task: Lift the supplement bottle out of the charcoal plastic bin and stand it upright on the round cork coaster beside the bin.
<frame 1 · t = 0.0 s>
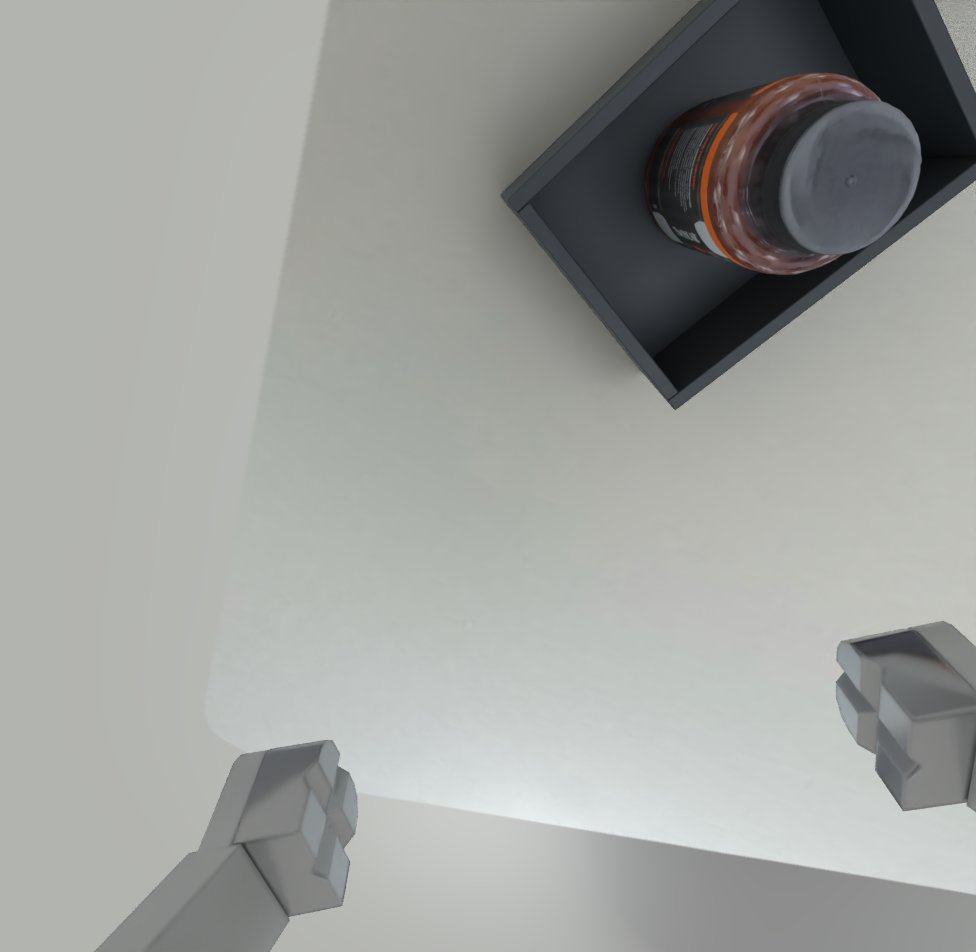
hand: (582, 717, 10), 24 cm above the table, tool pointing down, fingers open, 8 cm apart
supplement bottle: (707, 177, 28), resting on bin
bin: (704, 177, 28), on the table
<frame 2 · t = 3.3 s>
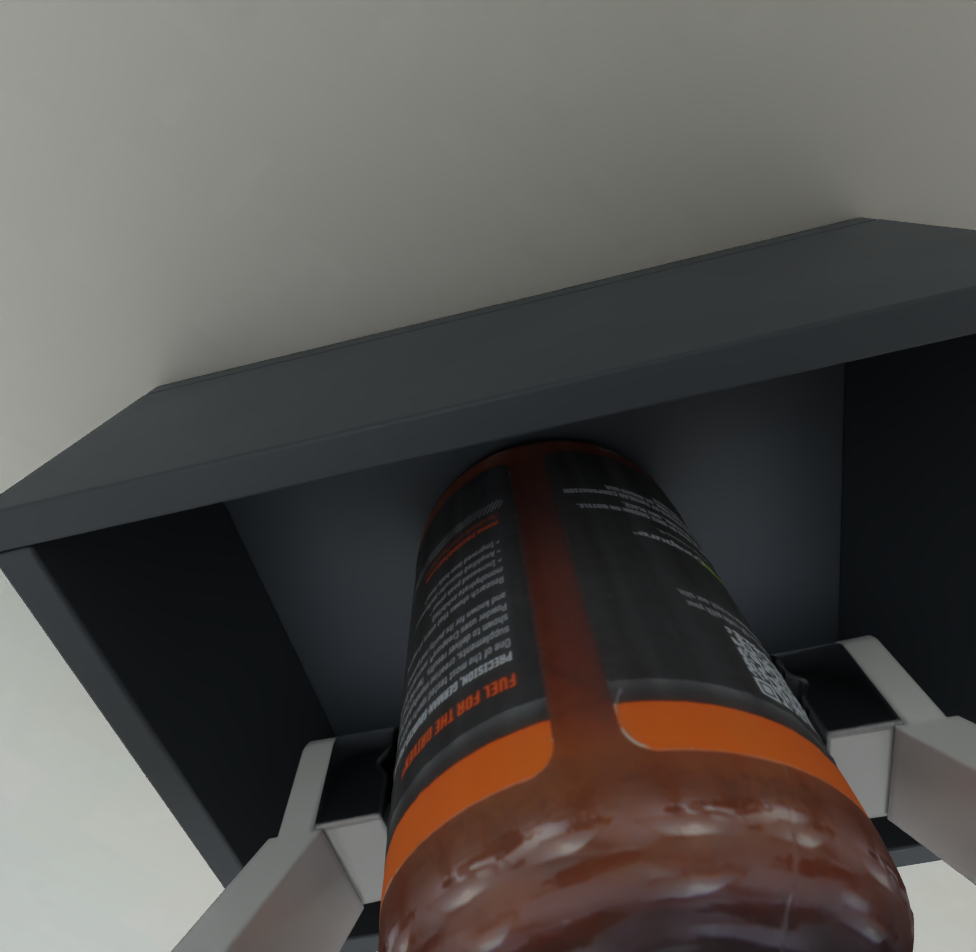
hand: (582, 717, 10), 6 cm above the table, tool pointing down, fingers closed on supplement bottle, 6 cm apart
supplement bottle: (547, 543, 15), resting on bin, touching gripper
bin: (544, 534, 15), on the table
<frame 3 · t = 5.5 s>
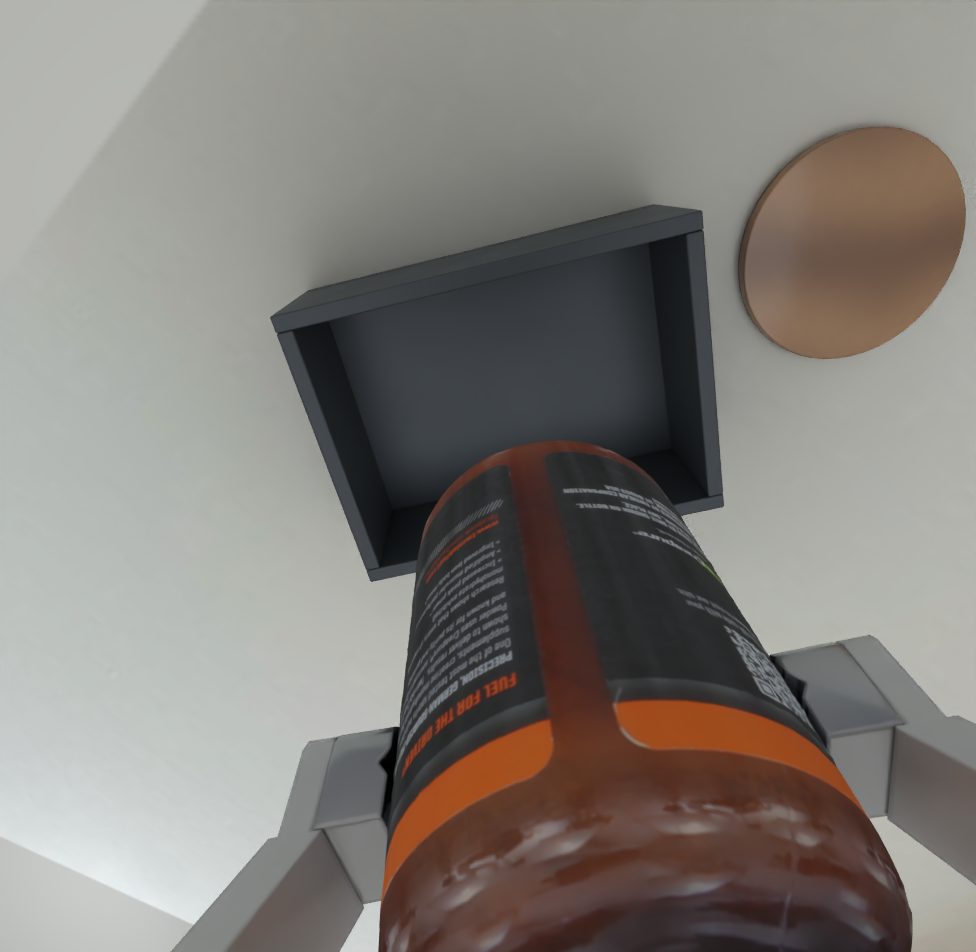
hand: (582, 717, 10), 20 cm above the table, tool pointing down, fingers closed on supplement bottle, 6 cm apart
supplement bottle: (547, 543, 15), point 15 cm above the table, touching gripper
bin: (506, 376, 28), on the table
coaster: (845, 250, 26), on the table
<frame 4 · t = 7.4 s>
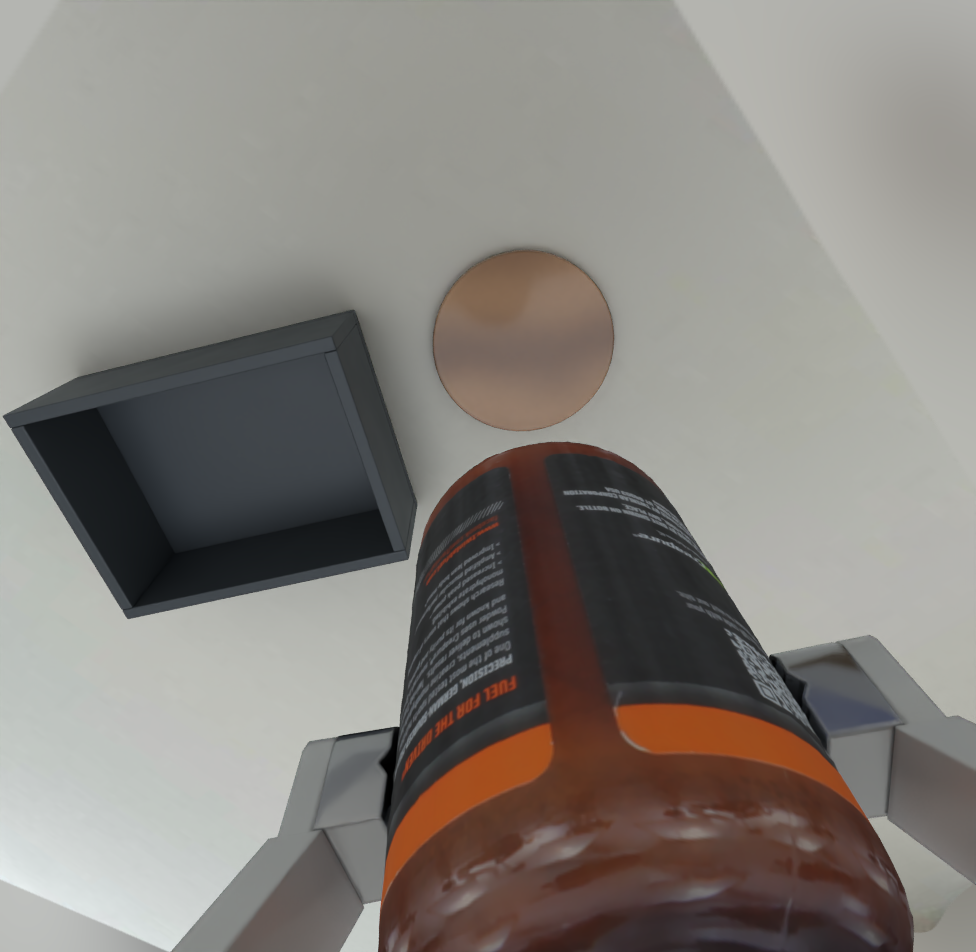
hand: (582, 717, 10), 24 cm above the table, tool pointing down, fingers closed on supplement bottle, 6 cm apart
supplement bottle: (547, 544, 15), point 19 cm above the table, touching gripper
bin: (256, 444, 33), on the table
coaster: (522, 344, 31), on the table
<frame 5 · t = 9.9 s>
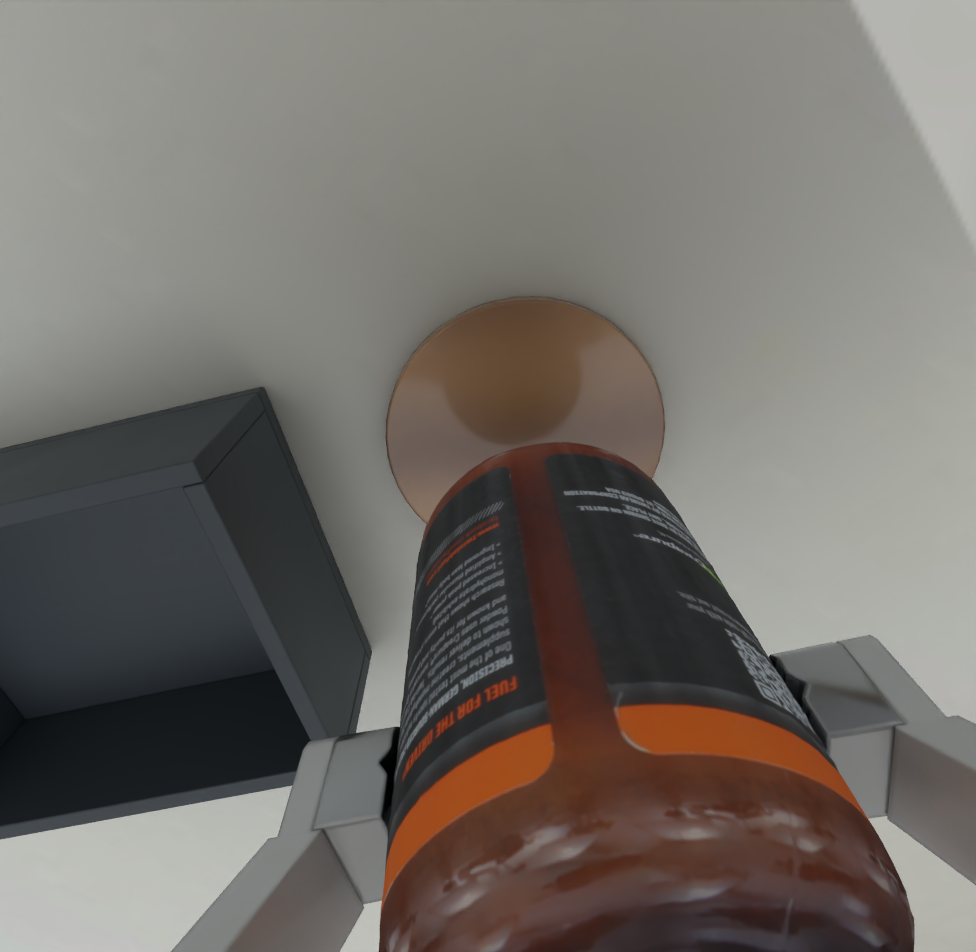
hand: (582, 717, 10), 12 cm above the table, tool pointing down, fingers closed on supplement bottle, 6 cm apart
supplement bottle: (547, 544, 15), point 7 cm above the table, touching gripper
bin: (131, 575, 23), on the table
coaster: (524, 435, 21), on the table
when the fingers open (6 cm above the table, at t = 11.9 s): supplement bottle stays where it is, resting on coaster.
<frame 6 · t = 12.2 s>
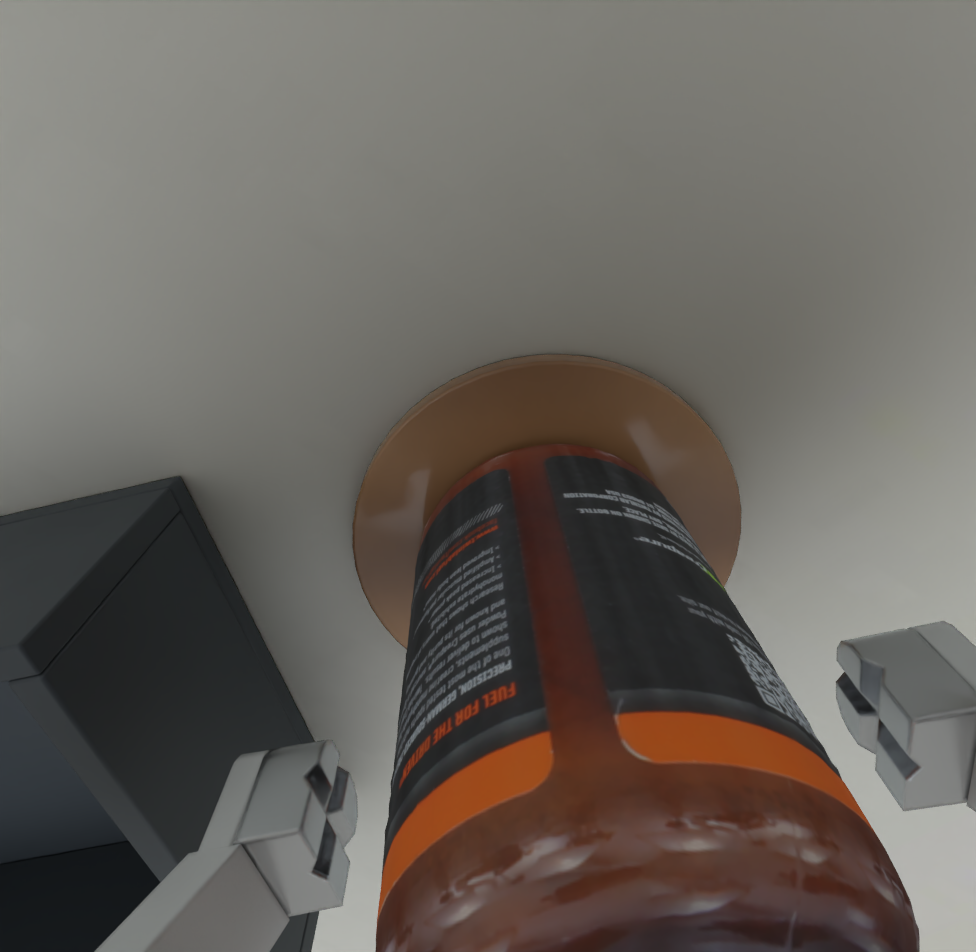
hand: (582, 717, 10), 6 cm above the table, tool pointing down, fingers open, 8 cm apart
supplement bottle: (547, 546, 15), resting on coaster
bin: (18, 711, 17), on the table
coaster: (544, 537, 15), on the table
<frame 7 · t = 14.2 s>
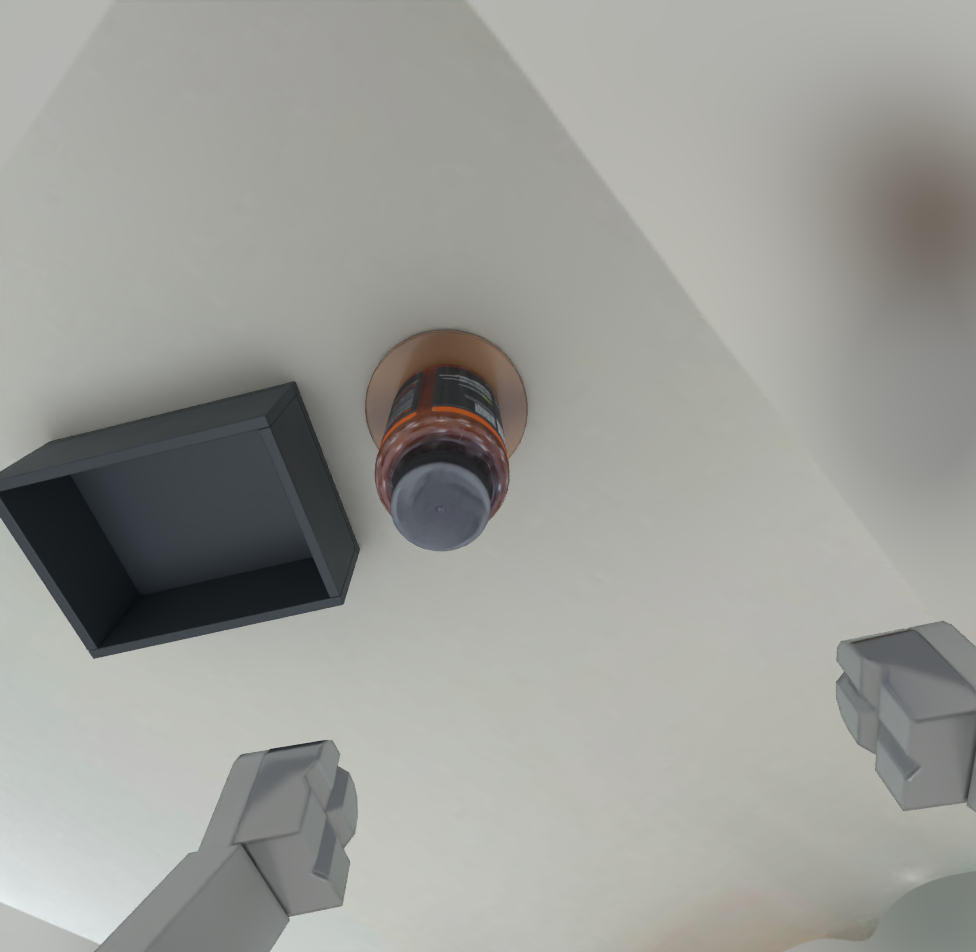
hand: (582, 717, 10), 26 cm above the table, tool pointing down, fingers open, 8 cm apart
supplement bottle: (447, 412, 35), resting on coaster
bin: (212, 498, 37), on the table
coaster: (447, 409, 35), on the table
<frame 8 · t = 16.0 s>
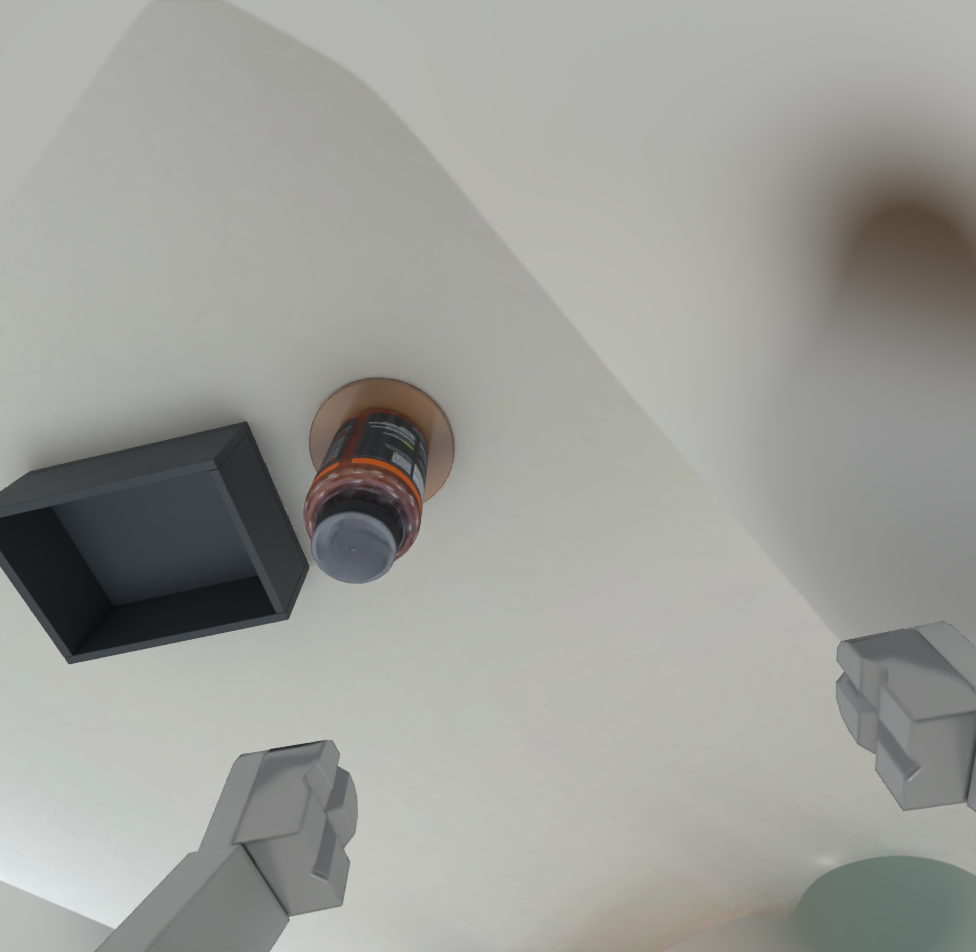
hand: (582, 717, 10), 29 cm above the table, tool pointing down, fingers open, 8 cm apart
supplement bottle: (382, 449, 39), resting on coaster
bin: (175, 521, 41), on the table
coaster: (383, 446, 39), on the table
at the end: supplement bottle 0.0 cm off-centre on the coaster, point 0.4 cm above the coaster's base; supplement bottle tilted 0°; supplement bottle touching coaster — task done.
